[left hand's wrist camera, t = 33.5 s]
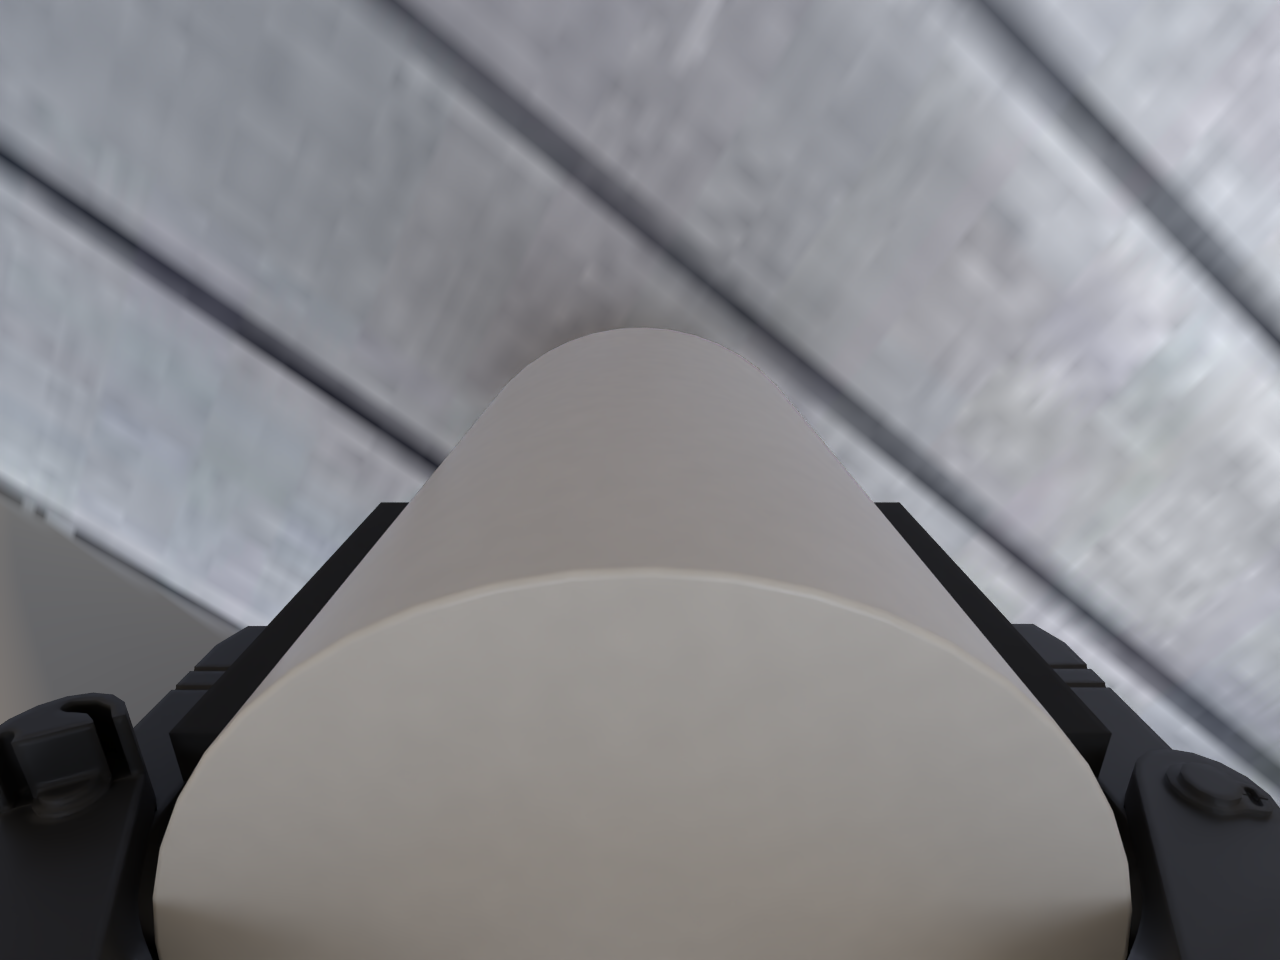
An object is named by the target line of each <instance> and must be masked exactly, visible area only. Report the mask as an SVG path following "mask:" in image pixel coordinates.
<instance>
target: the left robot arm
mask: <svg viewBox="0 0 1280 960" xmlns="http://www.w3.org/2000/svg"><path fill="white" fill-rule="evenodd" d="M408 504H409V503H380V504H379V505H378V506H377V507H376V509H375V510H374V511H373V512H372V513H371V514H370V515H369V516H368V517H367V518H366V519H365V520H364V522H363V523H362V524H361V525H360V526H359V527H358V528H357V529H356V530H355V531H354V532H353V533H352V535H351V536H350V537H349V538H348V539H347V540H346V541H345V542H344V543H343V544H342V545H341V547H340V548H339V549H338V550H337V551H336V552H335V553H334V554H333V555H332V556H331V557H330V558H329V560H328V561H327V562H326V563H325V564H324V565H323V566H322V567H321V568H320V569H319V570H318V571H317V573H316V574H315V575H314V576H313V577H312V578H311V579H310V580H309V581H308V582H307V583H306V585H305V586H304V587H303V588H302V589H301V590H300V591H299V592H298V593H297V594H296V595H295V596H294V598H293V599H292V600H291V601H290V602H289V603H288V604H287V605H286V606H285V607H284V608H283V609H282V611H281V612H280V613H279V614H278V615H277V616H276V617H275V618H274V619H273V620H272V621H271V623H270V624H269V625H268V626H248V627H246V628H244V629H242V630H241V631H239V632H237V633H236V634H234V635H232V636H231V637H229V638H227V639H226V640H224V641H222V642H221V643H219V644H217V645H216V646H215V647H214V648H213V649H212V650H211V651H210V652H209V653H208V654H207V655H206V656H205V657H204V658H203V659H202V660H201V661H200V662H199V663H198V664H197V665H196V666H195V669H194V671H190V672H189V673H188V674H187V675H186V676H185V677H184V678H183V679H182V680H181V681H180V682H179V683H178V684H177V685H176V689H175V690H171V691H170V692H169V693H168V694H167V695H166V696H165V697H164V698H163V699H162V700H161V701H160V702H159V703H158V704H157V705H156V706H155V707H154V708H153V709H152V710H151V711H150V712H149V713H148V714H147V715H146V716H145V717H144V718H143V719H142V720H141V721H140V722H139V723H138V724H137V725H136V726H135V727H134V728H133V726H132V723H131V720H130V717H129V714H128V711H127V708H126V705H125V702H124V701H122V700H121V699H119V698H117V697H116V696H114V695H112V694H101V693H88V694H81V695H74V696H67V697H64V698H61V699H57V700H54V701H51V702H48V703H45V704H41V705H38V706H36V707H34V708H32V709H29V710H27V711H25V712H23V713H21V714H19V715H17V716H15V717H13V718H10V719H9V720H7V721H6V722H4V723H3V724H1V725H0V960H159V957H158V953H157V949H156V945H155V932H154V914H153V892H154V885H155V878H156V871H157V864H158V857H159V851H160V847H161V843H162V841H163V838H164V835H165V832H166V829H167V827H168V824H169V821H170V818H171V815H172V812H173V810H174V807H175V804H176V801H177V798H178V797H179V795H180V793H181V792H182V790H183V788H184V786H185V785H186V783H187V781H188V780H189V778H190V776H191V775H192V773H193V771H194V769H195V768H196V766H197V764H198V763H199V761H200V759H201V758H202V756H203V754H204V752H205V751H206V750H207V749H208V748H209V746H210V745H211V744H212V743H213V741H214V740H215V739H216V738H217V737H218V735H219V734H220V733H221V732H222V730H223V729H224V728H225V727H226V726H227V724H228V723H229V722H230V721H231V719H232V718H233V717H234V716H235V715H236V713H237V712H238V711H239V710H240V709H241V707H242V706H243V705H244V704H245V702H246V701H247V700H248V699H249V698H250V696H251V695H252V694H253V693H254V691H255V690H256V689H257V688H258V687H259V685H260V684H261V683H262V682H263V680H264V679H265V678H266V677H267V676H268V674H269V673H270V672H271V671H272V669H273V668H274V667H275V666H276V665H277V663H278V662H279V661H280V660H281V659H282V657H283V656H284V655H285V654H286V652H287V651H288V650H289V649H290V648H291V646H292V645H293V644H294V643H295V641H296V640H297V639H298V638H299V637H300V635H301V634H302V633H303V632H304V630H305V629H306V628H307V627H308V626H309V624H310V623H311V622H312V621H313V619H314V618H315V617H316V616H317V615H318V613H319V612H320V611H321V610H322V609H323V607H324V606H325V605H326V604H327V602H328V601H329V600H330V599H331V598H332V596H333V595H334V594H335V593H336V591H337V590H338V589H339V588H340V587H341V585H342V584H343V583H344V582H345V580H346V579H347V578H348V577H349V576H350V574H351V573H352V572H353V571H354V569H355V568H356V567H357V566H358V565H359V563H360V562H361V561H362V560H363V559H364V557H365V556H366V555H367V554H368V552H369V551H370V550H371V549H372V548H373V546H374V545H375V544H376V543H377V541H378V540H379V539H380V538H381V537H382V535H383V534H384V533H385V532H386V530H387V529H388V528H389V527H390V526H391V524H392V523H393V522H394V521H395V519H396V518H397V517H398V516H399V515H400V513H401V512H402V511H403V510H404V509H405V507H406V506H407V505H408ZM874 504H875V505H876V506H877V507H878V508H879V510H880V511H881V512H882V513H883V514H884V516H885V517H886V518H887V519H888V520H889V522H890V523H891V524H892V525H893V527H894V528H895V529H896V530H897V531H898V533H899V534H900V535H901V536H902V537H903V539H904V540H905V541H906V542H907V543H908V545H909V546H910V547H911V548H912V549H913V551H914V552H915V553H916V554H917V555H918V557H919V558H920V559H921V560H922V561H923V563H924V564H925V565H926V566H927V568H928V569H929V570H930V571H931V572H932V574H933V575H934V576H935V577H936V578H937V580H938V581H939V582H940V583H941V584H942V586H943V587H944V588H945V589H946V590H947V592H948V593H949V594H950V595H951V596H952V598H953V599H954V600H955V601H956V602H957V604H958V605H959V606H960V607H961V608H962V610H963V611H964V612H965V613H966V615H967V616H968V617H969V618H970V619H971V621H972V622H973V623H974V624H975V625H976V627H977V628H978V629H979V630H980V631H981V633H982V634H983V635H984V636H985V637H986V639H987V640H988V641H989V642H990V643H991V645H992V646H993V647H994V648H995V649H996V651H997V652H998V653H999V654H1000V655H1001V657H1002V658H1003V659H1004V660H1005V662H1006V663H1007V664H1008V665H1009V666H1010V668H1011V669H1012V670H1013V671H1014V672H1015V674H1016V675H1017V676H1018V677H1019V678H1020V680H1021V681H1022V682H1023V683H1024V684H1025V686H1026V687H1027V688H1028V689H1029V690H1030V692H1031V693H1032V694H1033V695H1034V696H1035V698H1036V699H1037V700H1038V701H1039V703H1040V704H1041V705H1042V706H1043V707H1044V709H1045V710H1046V711H1047V712H1048V713H1049V715H1050V716H1051V717H1052V718H1053V719H1054V721H1055V722H1056V723H1057V725H1058V726H1059V727H1060V728H1061V730H1062V731H1063V732H1064V733H1065V735H1066V736H1067V737H1068V739H1069V740H1070V741H1071V742H1072V744H1073V745H1074V746H1075V748H1076V749H1077V750H1078V751H1079V753H1080V754H1081V755H1082V757H1083V758H1084V759H1085V760H1086V762H1087V763H1088V764H1089V766H1090V768H1091V770H1092V772H1093V774H1094V776H1095V778H1096V780H1097V781H1098V783H1099V785H1100V787H1101V789H1102V791H1103V793H1104V795H1105V797H1106V799H1107V801H1108V803H1109V805H1110V806H1111V808H1112V810H1113V813H1114V817H1115V820H1116V823H1117V827H1118V830H1119V834H1120V837H1121V840H1122V844H1123V847H1124V851H1125V854H1126V857H1127V861H1128V868H1129V880H1130V891H1131V902H1132V916H1131V926H1130V935H1129V944H1128V953H1127V957H1126V960H1280V808H1279V806H1278V805H1277V804H1276V803H1275V801H1274V800H1273V799H1272V797H1271V796H1270V795H1269V794H1268V793H1267V792H1265V791H1264V790H1263V789H1261V788H1260V787H1259V786H1258V785H1256V784H1255V783H1254V782H1253V781H1251V780H1250V779H1249V778H1248V777H1246V776H1244V775H1242V774H1240V773H1238V772H1237V771H1235V770H1233V769H1231V768H1229V767H1227V766H1226V765H1224V764H1222V763H1220V762H1217V761H1214V760H1211V759H1208V758H1206V757H1203V756H1200V755H1197V754H1194V753H1190V752H1184V751H1178V750H1172V749H1171V748H1170V747H1169V746H1168V745H1167V744H1166V743H1165V742H1164V741H1163V740H1162V739H1161V738H1160V737H1159V736H1158V735H1157V734H1156V733H1155V732H1154V731H1153V730H1152V729H1151V728H1150V727H1149V726H1148V725H1147V724H1146V723H1145V722H1144V721H1143V720H1142V719H1141V718H1140V717H1139V716H1138V715H1137V714H1136V713H1135V712H1134V711H1133V710H1132V709H1131V708H1130V707H1129V706H1128V705H1127V704H1126V703H1125V702H1124V701H1123V700H1122V699H1121V698H1120V697H1119V696H1118V695H1117V694H1116V693H1115V692H1114V691H1113V690H1112V689H1111V688H1106V686H1105V682H1104V681H1103V680H1102V679H1101V678H1100V677H1099V676H1098V675H1097V674H1096V673H1095V672H1094V671H1093V670H1092V669H1087V664H1086V663H1085V662H1084V661H1083V660H1082V659H1081V658H1080V657H1079V656H1078V655H1077V654H1076V653H1075V652H1074V651H1073V650H1072V649H1071V648H1070V647H1069V646H1068V645H1067V644H1066V643H1064V642H1063V641H1061V640H1059V639H1058V638H1056V637H1054V636H1052V635H1051V634H1049V633H1047V632H1046V631H1044V630H1042V629H1041V628H1039V627H1037V626H1035V625H1034V624H1011V623H1010V622H1009V621H1008V620H1007V619H1006V618H1005V617H1004V615H1003V614H1002V613H1001V612H1000V611H999V610H998V609H997V608H996V607H995V606H994V605H993V604H992V602H991V601H990V600H989V599H988V598H987V597H986V596H985V595H984V594H983V593H982V592H981V591H980V589H979V588H978V587H977V586H976V585H975V584H974V583H973V582H972V581H971V580H970V579H969V577H968V576H967V575H966V574H965V573H964V572H963V571H962V570H961V569H960V568H959V567H958V566H957V564H956V563H955V562H954V561H953V560H952V559H951V558H950V557H949V556H948V555H947V554H946V553H945V551H944V550H943V549H942V548H941V547H940V546H939V545H938V544H937V543H936V542H935V541H934V539H933V538H932V537H931V536H930V535H929V534H928V533H927V532H926V531H925V530H924V529H923V528H922V526H921V525H920V524H919V523H918V522H917V521H916V520H915V519H914V518H913V517H912V516H911V515H910V513H909V512H908V511H907V510H906V509H905V508H904V507H903V506H902V505H901V504H900V503H874Z"/></svg>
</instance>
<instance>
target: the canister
mask: <svg viewBox="0 0 1280 960" xmlns="http://www.w3.org/2000/svg"><path fill="white" fill-rule="evenodd" d="M153 914H154V932H155V945H156V949H157V953H158V957H159V960H1126V957H1127V953H1128V944H1129V935H1130V926H1131V916H1132V902H1131V891H1130V880H1129V868H1128V861H1127V857H1126V854H1125V851H1124V847H1123V844H1122V840H1121V837H1120V834H1119V830H1118V827H1117V823H1116V820H1115V817H1114V813H1113V810H1112V808H1111V806H1110V805H1109V803H1108V801H1107V799H1106V797H1105V795H1104V793H1103V791H1102V789H1101V787H1100V785H1099V783H1098V781H1097V780H1096V778H1095V776H1094V774H1093V772H1092V770H1091V768H1090V766H1089V764H1088V763H1087V762H1086V760H1085V759H1084V758H1083V757H1082V755H1081V754H1080V753H1079V751H1078V750H1077V749H1076V748H1075V746H1074V745H1073V744H1072V742H1071V741H1070V740H1069V739H1068V737H1067V736H1066V735H1065V733H1064V732H1063V731H1062V730H1061V728H1060V727H1059V726H1058V725H1057V723H1056V722H1055V721H1054V719H1053V718H1052V717H1051V716H1050V715H1049V713H1048V712H1047V711H1046V710H1045V709H1044V707H1043V706H1042V705H1041V704H1040V703H1039V701H1038V700H1037V699H1036V698H1035V696H1034V695H1033V694H1032V693H1031V692H1030V690H1029V689H1028V688H1027V687H1026V686H1025V684H1024V683H1023V682H1022V681H1021V680H1020V678H1019V677H1018V676H1017V675H1016V674H1015V672H1014V671H1013V670H1012V669H1011V668H1010V666H1009V665H1008V664H1007V663H1006V662H1005V660H1004V659H1003V658H1002V657H1001V655H1000V654H999V653H998V652H997V651H996V649H995V648H994V647H993V646H992V645H991V643H990V642H989V641H988V640H987V639H986V637H985V636H984V635H983V634H982V633H981V631H980V630H979V629H978V628H977V627H976V625H975V624H974V623H973V622H972V621H971V619H970V618H969V617H968V616H967V615H966V613H965V612H964V611H963V610H962V608H961V607H960V606H959V605H958V604H957V602H956V601H955V600H954V599H953V598H952V596H951V595H950V594H949V593H948V592H947V590H946V589H945V588H944V587H943V586H942V584H941V583H940V582H939V581H938V580H937V578H936V577H935V576H934V575H933V574H932V572H931V571H930V570H929V569H928V568H927V566H926V565H925V564H924V563H923V561H922V560H921V559H920V558H919V557H918V555H917V554H916V553H915V552H914V551H913V549H912V548H911V547H910V546H909V545H908V543H907V542H906V541H905V540H904V539H903V537H902V536H901V535H900V534H899V533H898V531H897V530H896V529H895V528H894V527H893V525H892V524H891V523H890V522H889V520H888V519H887V518H886V517H885V516H884V514H883V513H882V512H881V511H880V510H879V508H878V507H877V506H876V505H875V504H874V502H873V501H872V500H871V499H870V498H869V496H868V495H867V494H866V493H865V492H864V490H863V489H862V488H861V487H860V486H859V484H858V483H857V482H856V481H855V480H854V478H853V477H852V476H851V475H850V473H849V472H848V471H847V470H846V469H845V467H844V466H843V465H842V464H841V463H840V461H839V460H838V459H837V458H836V457H835V455H834V454H833V453H832V452H831V451H830V449H829V448H828V447H827V446H826V445H825V443H824V442H823V441H822V440H821V439H820V437H819V436H818V435H817V434H816V432H815V431H814V430H813V429H812V428H811V426H810V425H809V424H808V423H807V422H806V420H805V419H804V418H803V417H802V416H801V414H800V413H799V412H798V411H797V410H796V408H795V407H794V406H793V405H792V404H791V402H790V401H789V400H788V399H787V398H786V396H785V395H784V394H783V393H782V392H781V390H780V389H779V388H778V387H777V386H776V385H775V384H774V383H773V382H772V381H771V380H770V379H769V378H768V377H767V376H766V375H765V374H764V373H763V372H762V371H761V370H760V369H758V368H757V367H756V366H754V365H753V364H752V363H750V362H749V361H747V360H746V359H745V358H743V357H742V356H740V355H739V354H737V353H735V352H733V351H731V350H729V349H727V348H726V347H724V346H722V345H720V344H718V343H715V342H713V341H710V340H707V339H704V338H702V337H699V336H696V335H693V334H688V333H684V332H679V331H675V330H670V329H659V328H647V327H639V328H619V329H613V330H608V331H603V332H597V333H593V334H590V335H587V336H584V337H580V338H577V339H574V340H571V341H569V342H567V343H565V344H563V345H561V346H558V347H556V348H554V349H552V350H550V351H548V352H547V353H545V354H544V355H542V356H541V357H539V358H538V359H536V360H535V361H533V362H532V363H530V364H529V365H527V366H526V367H525V368H524V369H523V370H521V371H520V372H519V373H518V374H517V375H516V376H515V377H514V378H512V379H511V380H510V381H509V382H508V383H507V385H506V386H505V387H504V388H503V389H502V391H501V392H500V393H499V394H498V395H497V396H496V398H495V399H494V400H493V401H492V402H491V404H490V405H489V406H488V407H487V408H486V410H485V411H484V412H483V413H482V415H481V416H480V417H479V418H478V419H477V421H476V422H475V423H474V424H473V426H472V427H471V428H470V429H469V430H468V432H467V433H466V434H465V435H464V437H463V438H462V439H461V440H460V441H459V443H458V444H457V445H456V446H455V448H454V449H453V450H452V451H451V452H450V454H449V455H448V456H447V457H446V458H445V460H444V461H443V462H442V463H441V465H440V466H439V467H438V468H437V469H436V471H435V472H434V473H433V474H432V476H431V477H430V478H429V479H428V480H427V482H426V483H425V484H424V485H423V487H422V488H421V489H420V490H419V491H418V493H417V494H416V495H415V496H414V498H413V499H412V500H411V501H410V502H409V504H408V505H407V506H406V507H405V509H404V510H403V511H402V512H401V513H400V515H399V516H398V517H397V518H396V519H395V521H394V522H393V523H392V524H391V526H390V527H389V528H388V529H387V530H386V532H385V533H384V534H383V535H382V537H381V538H380V539H379V540H378V541H377V543H376V544H375V545H374V546H373V548H372V549H371V550H370V551H369V552H368V554H367V555H366V556H365V557H364V559H363V560H362V561H361V562H360V563H359V565H358V566H357V567H356V568H355V569H354V571H353V572H352V573H351V574H350V576H349V577H348V578H347V579H346V580H345V582H344V583H343V584H342V585H341V587H340V588H339V589H338V590H337V591H336V593H335V594H334V595H333V596H332V598H331V599H330V600H329V601H328V602H327V604H326V605H325V606H324V607H323V609H322V610H321V611H320V612H319V613H318V615H317V616H316V617H315V618H314V619H313V621H312V622H311V623H310V624H309V626H308V627H307V628H306V629H305V630H304V632H303V633H302V634H301V635H300V637H299V638H298V639H297V640H296V641H295V643H294V644H293V645H292V646H291V648H290V649H289V650H288V651H287V652H286V654H285V655H284V656H283V657H282V659H281V660H280V661H279V662H278V663H277V665H276V666H275V667H274V668H273V669H272V671H271V672H270V673H269V674H268V676H267V677H266V678H265V679H264V680H263V682H262V683H261V684H260V685H259V687H258V688H257V689H256V690H255V691H254V693H253V694H252V695H251V696H250V698H249V699H248V700H247V701H246V702H245V704H244V705H243V706H242V707H241V709H240V710H239V711H238V712H237V713H236V715H235V716H234V717H233V718H232V719H231V721H230V722H229V723H228V724H227V726H226V727H225V728H224V729H223V730H222V732H221V733H220V734H219V735H218V737H217V738H216V739H215V740H214V741H213V743H212V744H211V745H210V746H209V748H208V749H207V750H206V751H205V752H204V754H203V756H202V758H201V759H200V761H199V763H198V764H197V766H196V768H195V769H194V771H193V773H192V775H191V776H190V778H189V780H188V781H187V783H186V785H185V786H184V788H183V790H182V792H181V793H180V795H179V797H178V798H177V801H176V804H175V807H174V810H173V812H172V815H171V818H170V821H169V824H168V827H167V829H166V832H165V835H164V838H163V841H162V843H161V847H160V851H159V857H158V864H157V871H156V878H155V885H154V892H153Z"/></svg>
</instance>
